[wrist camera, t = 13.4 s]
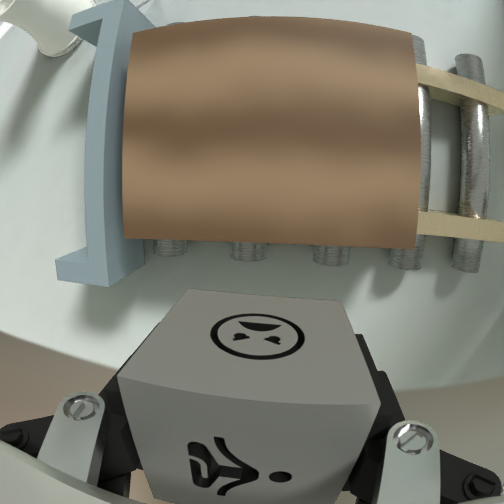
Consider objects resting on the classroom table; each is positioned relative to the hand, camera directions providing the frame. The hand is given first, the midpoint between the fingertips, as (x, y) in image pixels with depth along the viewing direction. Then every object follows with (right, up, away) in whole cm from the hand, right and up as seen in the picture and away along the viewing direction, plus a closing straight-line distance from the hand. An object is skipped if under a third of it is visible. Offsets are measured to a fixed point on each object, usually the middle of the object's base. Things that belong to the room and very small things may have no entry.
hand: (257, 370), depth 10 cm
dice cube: (0, 0, +1) cm, 1 cm away
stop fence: (-11, +13, +13) cm, 22 cm away
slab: (+1, +12, +9) cm, 15 cm away
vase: (-19, +27, +11) cm, 35 cm away
